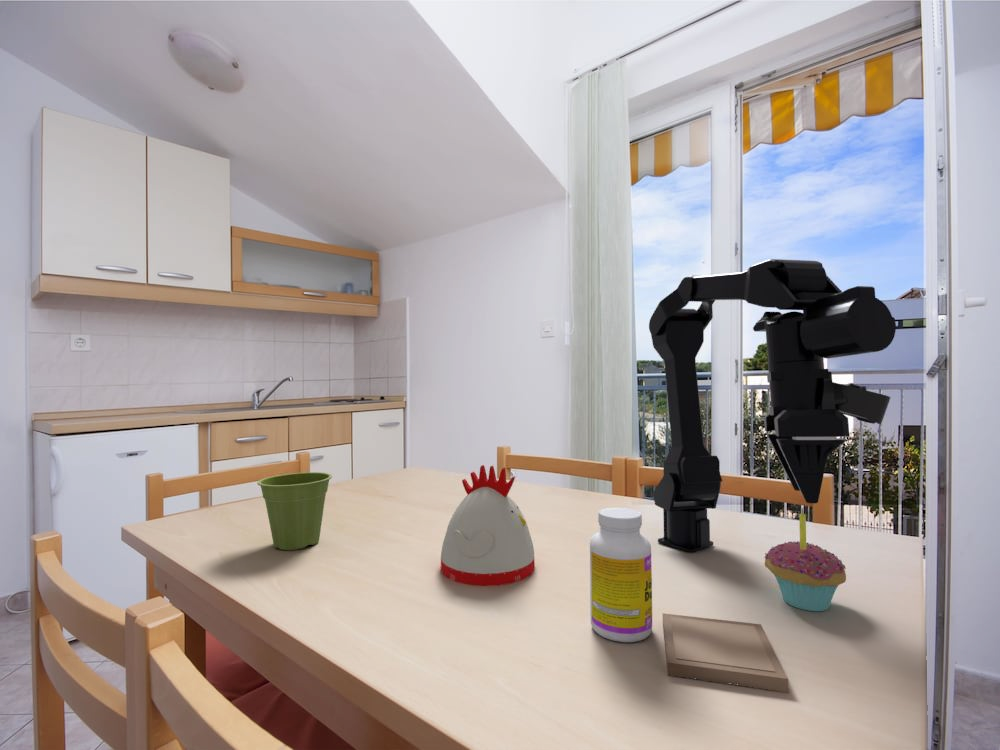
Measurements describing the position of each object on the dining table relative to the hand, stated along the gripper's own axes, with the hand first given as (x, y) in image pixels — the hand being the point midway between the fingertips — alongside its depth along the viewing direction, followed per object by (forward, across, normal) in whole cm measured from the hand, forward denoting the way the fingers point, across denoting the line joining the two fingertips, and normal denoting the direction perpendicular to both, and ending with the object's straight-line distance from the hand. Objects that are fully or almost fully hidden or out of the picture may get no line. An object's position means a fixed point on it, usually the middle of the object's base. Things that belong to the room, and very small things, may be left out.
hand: (805, 496), depth 58 cm
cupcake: (+14, +4, 0) cm, 14 cm away
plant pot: (+11, -3, +76) cm, 77 cm away
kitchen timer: (+12, 0, +41) cm, 43 cm away
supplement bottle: (+14, -11, +20) cm, 27 cm away
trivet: (+14, -12, +10) cm, 21 cm away
